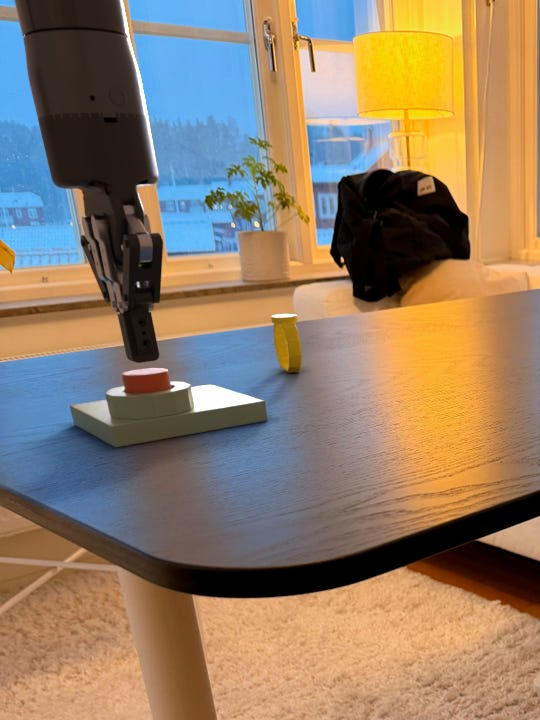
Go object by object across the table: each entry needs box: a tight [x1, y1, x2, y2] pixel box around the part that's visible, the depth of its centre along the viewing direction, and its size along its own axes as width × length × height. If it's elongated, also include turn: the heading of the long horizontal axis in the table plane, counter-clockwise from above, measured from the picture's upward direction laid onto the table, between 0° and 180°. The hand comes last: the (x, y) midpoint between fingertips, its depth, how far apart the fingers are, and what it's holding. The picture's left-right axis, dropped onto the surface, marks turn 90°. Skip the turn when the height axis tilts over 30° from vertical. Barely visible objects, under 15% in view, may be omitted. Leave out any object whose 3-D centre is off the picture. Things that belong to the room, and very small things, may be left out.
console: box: [69, 380, 268, 448], centre depth 76 cm, size 13×12×4 cm
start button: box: [121, 367, 172, 394], centre depth 72 cm, size 4×4×2 cm
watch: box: [270, 313, 303, 374], centre depth 98 cm, size 6×3×6 cm, turn 27°
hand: (144, 360), depth 71 cm, fingers closed
